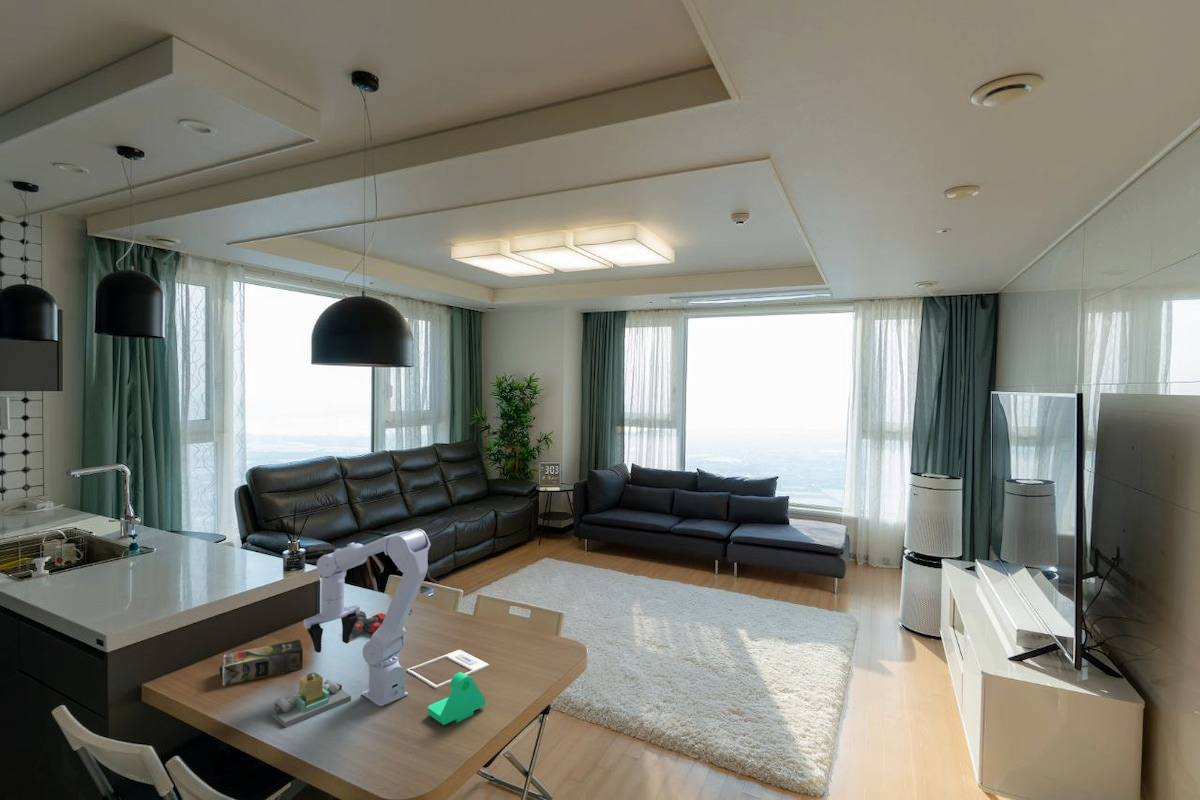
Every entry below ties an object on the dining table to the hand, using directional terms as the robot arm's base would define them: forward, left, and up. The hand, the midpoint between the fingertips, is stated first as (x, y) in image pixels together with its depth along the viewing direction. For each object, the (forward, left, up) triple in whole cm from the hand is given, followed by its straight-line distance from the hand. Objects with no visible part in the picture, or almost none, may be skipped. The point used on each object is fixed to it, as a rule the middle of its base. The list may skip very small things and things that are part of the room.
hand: (331, 646), depth 155 cm
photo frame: (-17, -26, -11) cm, 33 cm away
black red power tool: (+24, -31, -10) cm, 41 cm away
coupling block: (-8, +9, -9) cm, 15 cm away
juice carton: (+22, +9, -10) cm, 26 cm away
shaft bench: (-8, +9, -10) cm, 16 cm away
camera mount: (-38, -13, -10) cm, 41 cm away
